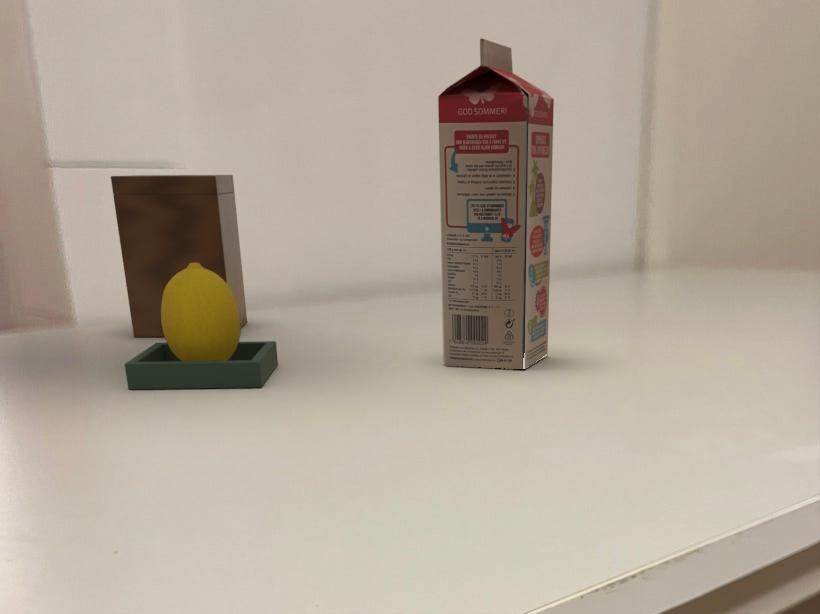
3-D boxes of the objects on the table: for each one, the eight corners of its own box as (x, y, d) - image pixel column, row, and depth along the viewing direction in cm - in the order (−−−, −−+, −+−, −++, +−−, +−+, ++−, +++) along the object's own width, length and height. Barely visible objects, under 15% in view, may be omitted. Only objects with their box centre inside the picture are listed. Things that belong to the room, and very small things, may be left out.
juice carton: (443, 365, 79) (437, 40, 70) (471, 351, 85) (469, 49, 75) (524, 370, 77) (529, 36, 68) (547, 356, 83) (554, 46, 73)
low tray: (128, 389, 71) (124, 363, 70) (159, 366, 79) (155, 342, 78) (261, 387, 71) (258, 361, 70) (278, 364, 80) (276, 341, 79)
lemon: (162, 373, 76) (147, 261, 73) (234, 367, 79) (223, 257, 75) (178, 386, 72) (162, 267, 68) (254, 379, 74) (243, 263, 71)
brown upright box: (133, 337, 93) (110, 176, 87) (156, 323, 101) (136, 175, 95) (232, 336, 93) (215, 175, 88) (247, 322, 101) (232, 174, 96)
